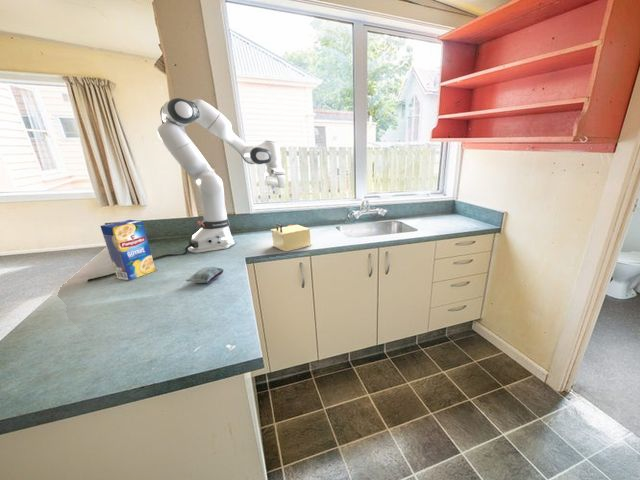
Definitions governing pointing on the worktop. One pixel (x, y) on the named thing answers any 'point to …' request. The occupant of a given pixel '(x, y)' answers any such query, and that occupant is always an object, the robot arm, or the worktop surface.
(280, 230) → the lid
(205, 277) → the packaged food
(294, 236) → the yellow open box
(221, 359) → the worktop surface
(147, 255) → the beverage box
